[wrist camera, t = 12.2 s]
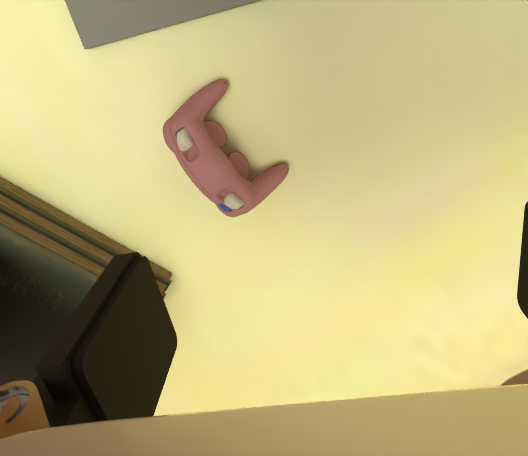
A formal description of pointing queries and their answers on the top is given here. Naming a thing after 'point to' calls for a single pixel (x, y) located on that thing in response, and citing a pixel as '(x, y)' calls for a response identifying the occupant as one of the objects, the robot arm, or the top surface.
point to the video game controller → (216, 156)
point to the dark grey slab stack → (44, 276)
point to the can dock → (136, 16)
